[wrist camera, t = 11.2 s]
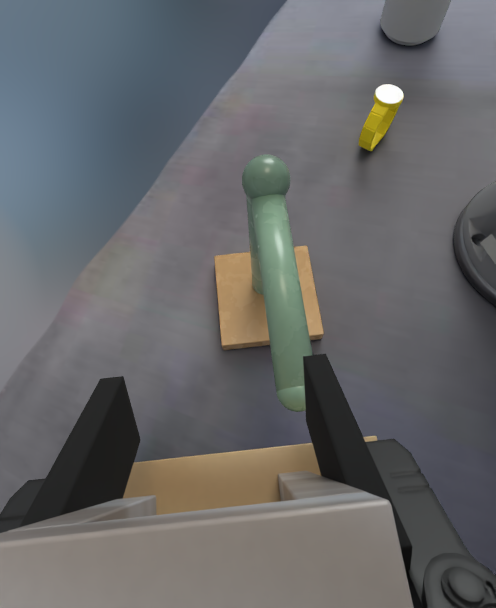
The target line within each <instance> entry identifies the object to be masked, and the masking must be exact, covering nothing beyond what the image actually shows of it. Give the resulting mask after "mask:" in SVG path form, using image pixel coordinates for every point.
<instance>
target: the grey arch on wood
mask: <svg viewBox="0 0 496 608" xmlns="http://www.w3.org/2000/svg"><path fill="white" fill-rule="evenodd" d="M363 438H364V440H365V442H369V441H378V440H377V437H376V436H369V437H363ZM0 608H414V607H413V602H412V598H411V593H410V589H409V584H408V579H407V575H406V570H405V565H404V561H403V556H402V552H401V547H400V542H399V538H398V533H397V529H396V524H395V519H394V515H393V510H392V506H391V503H390V502H389V500H386V499H384V498H381V497H378V496H375V495H372V494H370V493H367V492H365V491H363V490H360V489H357V488H354V487H351V486H348V485H346V484H343V483H340V482H337V481H334V480H331V479H328V478H326V477H323V476H321V473H320V469H319V466H318V462H317V458H316V455H315V451H314V447H313V444H312V443H306V444H297V445H288V446H279V447H270V448H261V449H252V450H243V451H234V452H225V453H216V454H207V455H198V456H189V457H180V458H171V459H162V460H153V461H144V462H135V463H133V466H132V469H131V473H130V476H129V479H128V483H127V486H126V489H125V493H124V496H123V499H116V500H112V501H109V502H105V503H102V504H98V505H95V506H92V507H88V508H85V509H81V510H78V511H74V512H71V513H68V514H64V515H61V516H57V517H54V518H50V519H47V520H43V521H40V522H37V523H33V524H30V525H26V526H23V527H19V528H16V529H12V530H9V531H7V532H3V533H0Z"/></svg>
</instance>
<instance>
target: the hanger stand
mask: <svg viewBox="0 0 496 608" xmlns="http://www.w3.org/2000/svg"><path fill="white" fill-rule="evenodd" d="M242 185H243V189H244V192H245V193H246V197H247V212H248V228H249V243H250V252H246V253H237V254H228V255H219V256H214V260H215V272H216V284H217V296H218V308H219V320H220V332H221V344H222V348H223V350H230V349H238V348H247V347H256V346H264V345H270V347H271V355H272V362H273V370H274V377H275V385H276V392H277V396H278V399H279V401H280V402H281V404H282V405H283V406H284V407H285V408H287V409H289V410H291V411H296V412H300V411H305V410H306V405H305V385H304V366H303V356H311V355H313V354H312V348H311V343H310V340H317V339H322V337H323V335H324V331H323V326H322V321H321V316H320V310H319V305H318V300H317V295H316V289H315V284H314V279H313V274H312V269H311V263H310V258H309V253H308V248H307V246H299V247H294V246H293V240H292V234H291V229H290V223H289V217H288V212H287V206H286V200H285V196H286V193H287V192H288V189H289V186H290V173H289V170H288V168H287V166H286V165H285V163H284V162H283V161H282V160H281V159H279V158H278V157H275V156H272V155H260V156H258V157H255V158H254V159H252V160H251V161H250V162H249V163H248V164H247V166H246V167H245V169H244V171H243V175H242Z"/></svg>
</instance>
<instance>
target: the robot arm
mask: <svg viewBox="0 0 496 608" xmlns="http://www.w3.org/2000/svg"><path fill="white" fill-rule="evenodd" d="M454 248H455V253H456V257H457V260H458V262H459V265H460V267H461V269H462V271H463V273H464V274H465V276H466V277H467V279H468V280H469V282H470V283H471V284H472V285H473V287H474V288H475V289H476V290H477V291H478V292H479V293H480V294H481V295H482V296H483V297H485V298H486V299H487V300H488V301H490V302H491V303H492V304H493V305H495V306H496V181H495V182H493V183H491V184H489V185H488V186H486V187H485V188H483V189H482V190H481V191H479V192H478V193H477V194H476V195H475V196H474V197H473V199H472V200H471V201H470V202H469V204H468V205H467V206H466V207H465V209H464V210H463V211H462V213H461V214H460V216H459V218H458V220H457V223H456V226H455V231H454ZM303 366H304V385H305V405H306V422H307V426H308V429H309V433H310V436H311V440H312V444H313V447H314V451H315V455H316V458H317V462H318V466H319V469H320V473H321V476H323V477H326V478H328V479H331V480H334V481H337V482H340V483H343V484H346V485H348V486H351V487H354V488H357V489H360V490H363V491H365V492H367V493H370V494H372V495H375V496H378V497H381V498H384V499H386V500H389V502H390V503H391V506H392V510H393V515H394V519H395V524H396V529H397V533H398V538H399V542H400V547H401V552H402V556H403V561H404V565H405V570H406V575H407V579H408V584H409V589H410V593H411V598H412V602H413V607H414V608H496V575H494V574H493V573H492V572H491V571H490V570H489V569H488V568H487V567H485V566H484V565H482V564H481V563H479V562H478V561H476V560H475V559H474V558H473V557H472V555H471V554H470V553H469V551H468V550H467V548H466V547H465V546H464V544H463V542H462V540H461V539H460V537H459V535H458V534H457V532H456V530H455V528H454V527H453V525H452V523H451V521H450V520H449V518H448V516H447V515H446V513H445V511H444V509H443V508H442V506H441V504H440V503H439V501H438V499H437V497H436V496H435V494H434V492H433V491H432V489H431V488H430V487H429V484H428V482H427V480H426V479H425V477H424V475H423V473H421V470H420V468H419V467H418V465H417V463H416V461H415V460H414V458H413V456H412V454H411V453H410V452H409V451H408V450H407V449H406V448H404V447H403V446H402V445H401V444H400V443H398V442H397V441H396V440H395V439H387V440H378V441H369V442H365V440H364V438H363V436H362V433H361V431H360V429H359V427H358V424H357V422H356V420H355V418H354V416H353V413H352V411H351V409H350V407H349V405H348V402H347V400H346V398H345V396H344V393H343V391H342V389H341V387H340V385H339V382H338V380H337V378H336V376H335V374H334V371H333V369H332V367H331V365H330V363H329V360H328V358H327V356H326V354H320V355H311V356H303ZM139 443H140V436H139V433H138V429H137V425H136V422H135V418H134V414H133V411H132V407H131V403H130V400H129V396H128V392H127V389H126V385H125V381H124V378H123V376H122V377H113V378H104V379H100V381H99V383H98V384H97V386H96V388H95V390H94V392H93V393H92V395H91V397H90V399H89V401H88V403H87V404H86V406H85V408H84V410H83V412H82V413H81V415H80V417H79V419H78V421H77V423H76V424H75V426H74V428H73V430H72V432H71V434H70V435H69V437H68V439H67V441H66V443H65V444H64V446H63V448H62V450H61V452H60V454H59V455H58V457H57V459H56V461H55V463H54V465H53V466H52V468H51V470H50V472H49V474H48V475H47V477H46V479H37V480H28V481H27V482H26V483H25V484H24V485H23V486H22V487H21V488H20V489H19V490H18V491H17V492H16V493H15V494H14V495H13V496H12V497H11V498H10V499H9V501H8V503H7V504H6V506H5V507H4V509H3V511H2V512H1V514H0V533H3V532H7V531H9V530H12V529H16V528H19V527H23V526H26V525H30V524H33V523H37V522H40V521H43V520H47V519H50V518H54V517H57V516H61V515H64V514H68V513H71V512H74V511H78V510H81V509H85V508H88V507H92V506H95V505H98V504H102V503H105V502H109V501H112V500H116V499H123V496H124V493H125V489H126V486H127V483H128V479H129V476H130V473H131V469H132V466H133V463H134V460H135V456H136V453H137V450H138V446H139Z"/></svg>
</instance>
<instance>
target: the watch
mask: <svg viewBox="0 0 496 608" xmlns="http://www.w3.org/2000/svg"><path fill="white" fill-rule="evenodd" d="M403 97H404V94H403V92H402V90H401V89H400V88H398V87H397V86H394V85H389V84H386V85H382V86H379V87H378V88H377V90H376V91H375V94H374V101H375V105H374V107H373V108H372V110H371V112H370V114H369V116H368V118H367V120H366V122H365V124H364V126H363V129H362V132H361V135H360V138H359V146H361V147H363V148H365V149H367V150H369V151H373V149H374V148H375V146H376V145H377V144H378V143H379V141H380V140H381V139H382V138H383V137H384V135H385V133H386V132H387V130H388V128H389V127H390V124H391V123H392V121H393V119H394V117H395V115H396V112H397V110H398V108H399V106H400V104H401V102H402V100H403Z"/></svg>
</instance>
